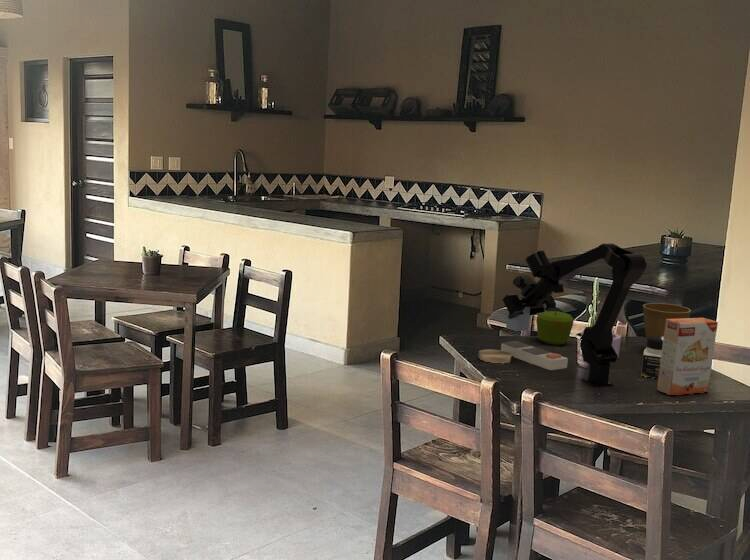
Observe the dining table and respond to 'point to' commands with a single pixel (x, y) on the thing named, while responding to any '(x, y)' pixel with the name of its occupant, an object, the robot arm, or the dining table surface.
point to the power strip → (535, 355)
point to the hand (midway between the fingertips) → (515, 317)
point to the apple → (554, 327)
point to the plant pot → (661, 316)
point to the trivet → (494, 356)
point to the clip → (614, 342)
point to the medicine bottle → (652, 357)
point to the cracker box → (686, 356)
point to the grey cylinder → (519, 321)
